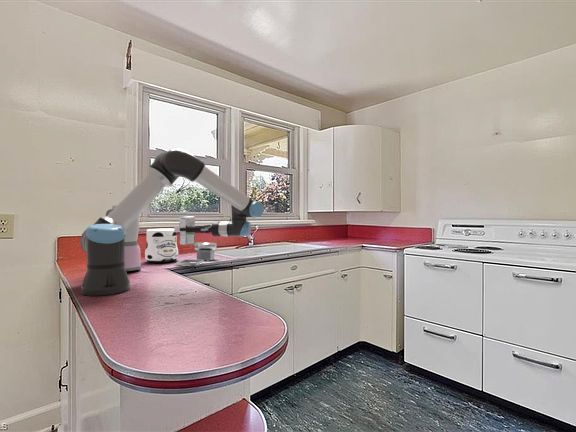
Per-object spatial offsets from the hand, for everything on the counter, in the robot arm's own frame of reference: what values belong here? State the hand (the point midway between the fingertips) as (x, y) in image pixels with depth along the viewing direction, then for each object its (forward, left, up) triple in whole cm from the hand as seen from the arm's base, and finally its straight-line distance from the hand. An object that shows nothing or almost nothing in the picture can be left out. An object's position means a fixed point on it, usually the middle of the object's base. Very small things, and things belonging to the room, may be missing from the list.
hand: (178, 228), depth 166 cm
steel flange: (+2, -5, -19) cm, 20 cm away
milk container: (+8, +14, -19) cm, 25 cm away
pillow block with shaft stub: (+16, -8, -19) cm, 26 cm away
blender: (-22, +17, -19) cm, 33 cm away
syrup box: (0, -5, -8) cm, 10 cm away
